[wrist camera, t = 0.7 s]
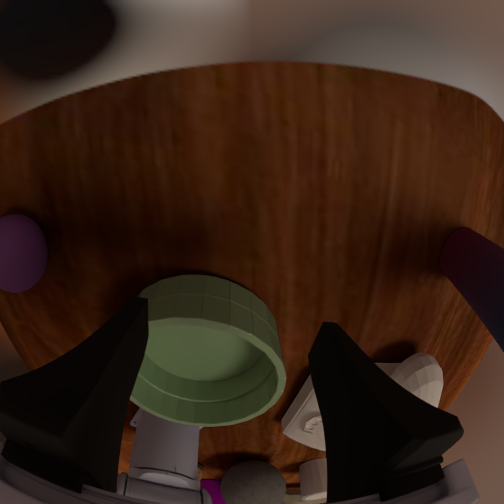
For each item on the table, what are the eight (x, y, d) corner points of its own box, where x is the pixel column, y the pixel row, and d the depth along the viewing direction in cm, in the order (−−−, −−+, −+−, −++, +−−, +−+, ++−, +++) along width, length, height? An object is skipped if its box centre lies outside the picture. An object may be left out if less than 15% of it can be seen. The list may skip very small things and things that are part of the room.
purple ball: (54, 279, 21) (20, 321, 16) (7, 248, 20) (-31, 282, 14) (67, 223, 19) (25, 260, 14) (15, 191, 17) (-31, 218, 12)
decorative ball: (222, 449, 35) (222, 509, 26) (289, 450, 36) (297, 506, 27) (218, 470, 40) (219, 519, 31) (275, 470, 41) (280, 518, 32)
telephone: (444, 338, 28) (482, 395, 19) (366, 431, 36) (382, 480, 28) (331, 330, 25) (363, 416, 17) (269, 434, 34) (275, 495, 25)
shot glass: (306, 457, 39) (312, 492, 33) (340, 456, 40) (348, 488, 34) (289, 470, 42) (293, 502, 36) (321, 469, 43) (327, 499, 37)
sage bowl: (229, 395, 29) (230, 438, 24) (112, 347, 25) (95, 391, 20) (307, 314, 24) (323, 362, 19) (160, 240, 20) (140, 282, 15)
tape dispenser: (232, 480, 43) (233, 507, 37) (235, 491, 47) (236, 515, 42) (151, 475, 42) (148, 501, 36) (163, 488, 46) (161, 510, 41)
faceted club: (259, 483, 42) (367, 469, 47) (248, 484, 48) (348, 473, 53) (260, 522, 36) (371, 502, 41) (249, 518, 41) (351, 503, 46)
